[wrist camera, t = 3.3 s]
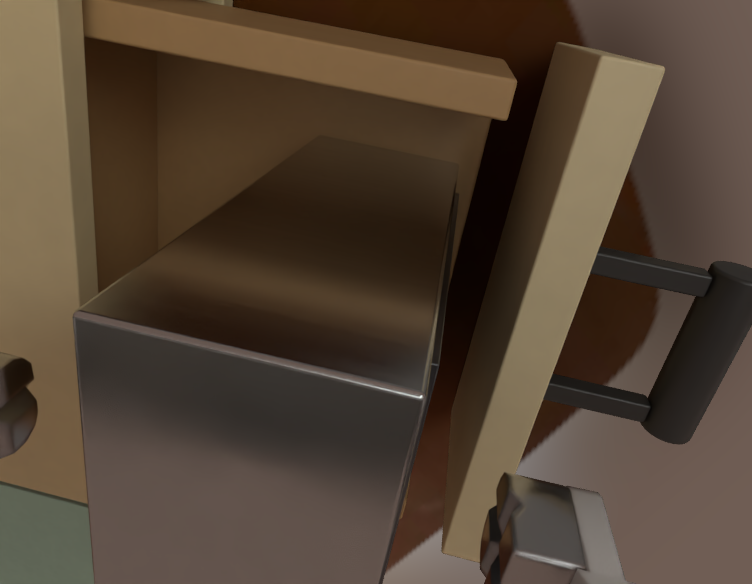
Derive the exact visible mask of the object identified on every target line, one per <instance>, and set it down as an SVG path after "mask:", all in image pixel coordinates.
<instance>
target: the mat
mask: <svg viewBox="0 0 752 584" xmlns="http://www.w3.org/2000/svg"><path fill="white" fill-rule="evenodd" d="M0 584H94V573H93V561H92V549H91V537H90V524H89V512H88V504H86V503H82V502H79V501H75V500H71V499H67V498H63V497H60V496H56V495H52V494H48V493H44V492H41V491H37V490H33V489H29V488H25V487H22V486H18V485H14V484H10V483H6V482H3V481H0Z"/></svg>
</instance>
